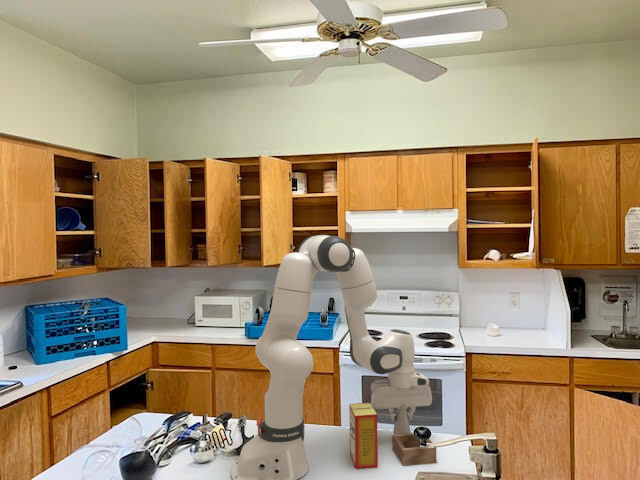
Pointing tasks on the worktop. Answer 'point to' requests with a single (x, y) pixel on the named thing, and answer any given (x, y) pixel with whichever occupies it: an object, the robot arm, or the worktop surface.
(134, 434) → the worktop surface
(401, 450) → the box
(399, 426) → the salt shaker
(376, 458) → the baking soda box
